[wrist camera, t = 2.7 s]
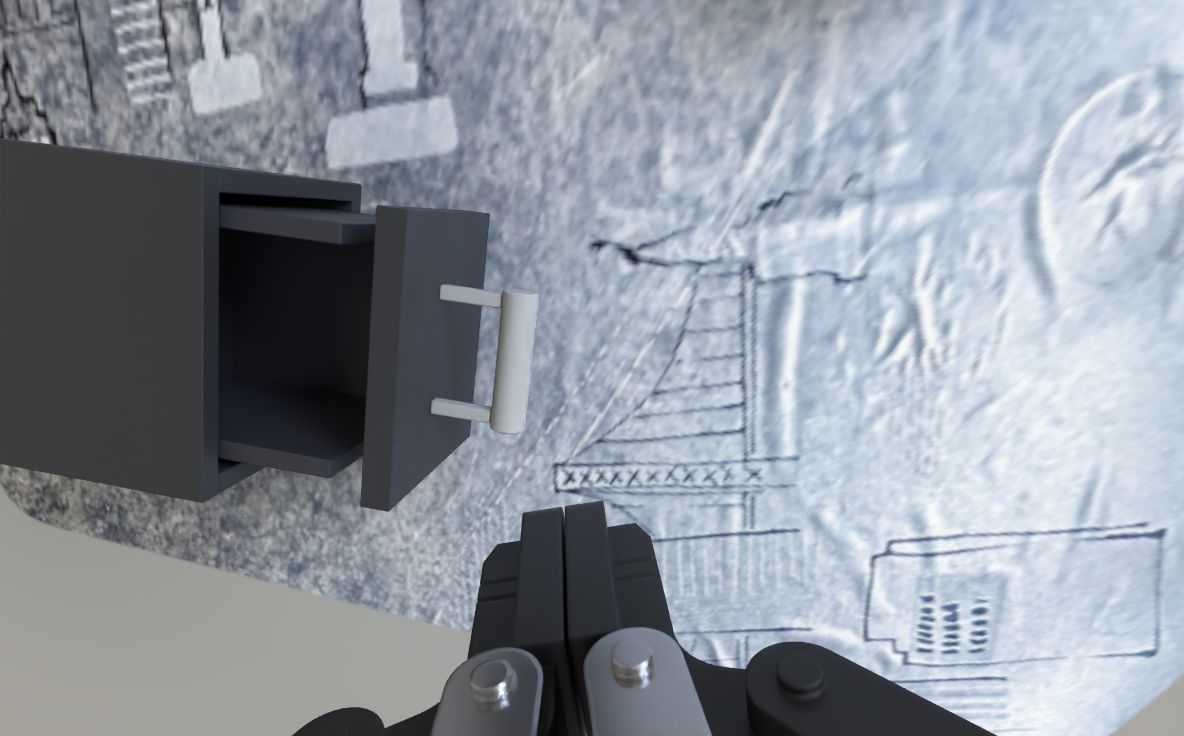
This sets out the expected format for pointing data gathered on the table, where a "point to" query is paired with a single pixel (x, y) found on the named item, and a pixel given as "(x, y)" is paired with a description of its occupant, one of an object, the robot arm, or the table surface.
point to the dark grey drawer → (360, 340)
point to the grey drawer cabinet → (120, 313)
